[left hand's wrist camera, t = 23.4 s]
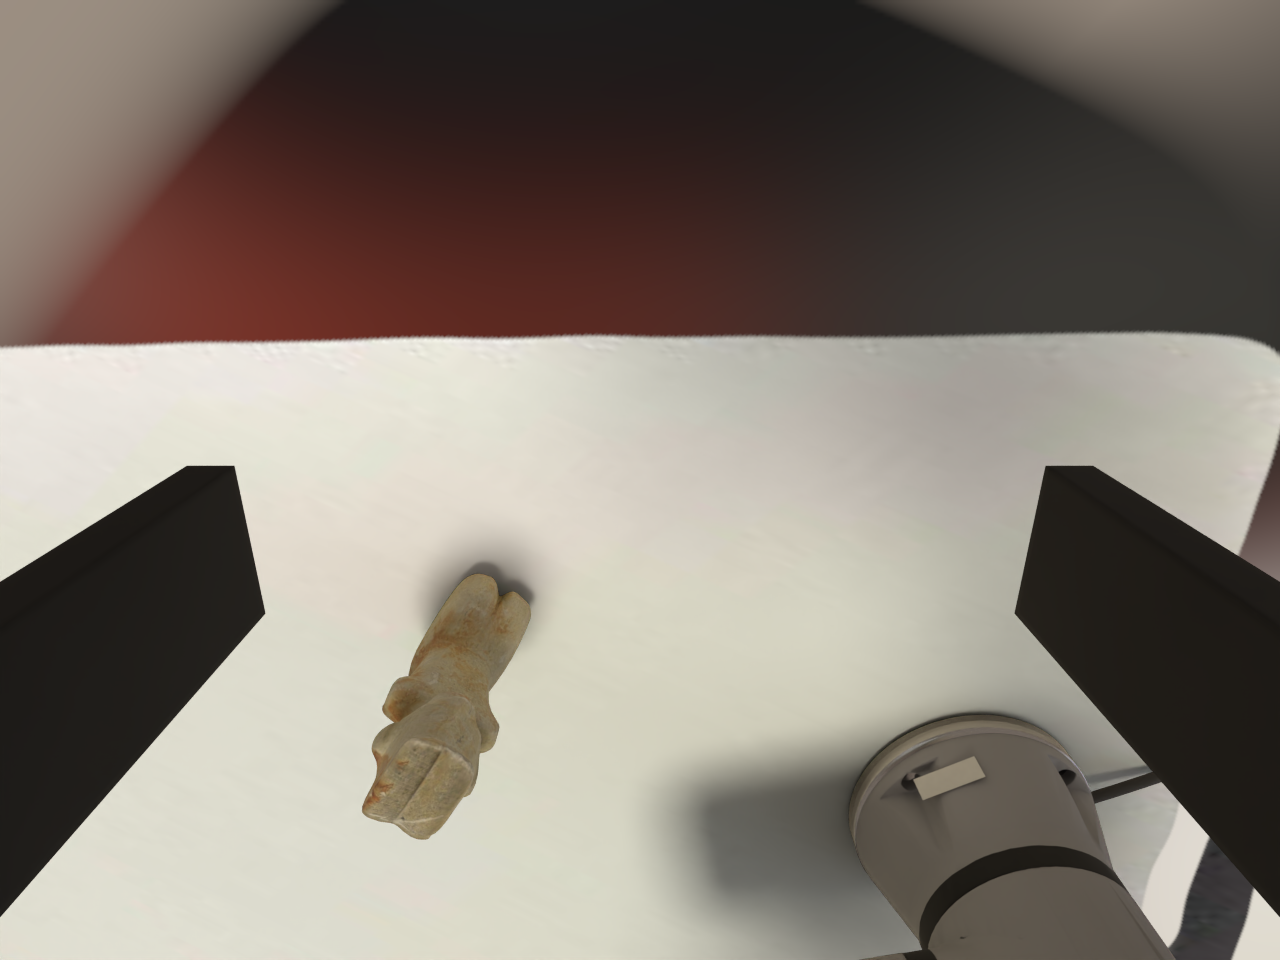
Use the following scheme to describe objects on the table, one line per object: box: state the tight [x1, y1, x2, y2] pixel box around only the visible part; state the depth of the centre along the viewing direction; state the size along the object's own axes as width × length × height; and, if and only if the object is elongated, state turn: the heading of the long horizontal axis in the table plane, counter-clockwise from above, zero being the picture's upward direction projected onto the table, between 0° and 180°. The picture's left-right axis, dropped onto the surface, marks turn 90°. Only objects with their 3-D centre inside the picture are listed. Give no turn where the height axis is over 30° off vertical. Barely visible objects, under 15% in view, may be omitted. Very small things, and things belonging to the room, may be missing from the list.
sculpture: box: [362, 574, 531, 840], centre depth 38 cm, size 6×7×15 cm
